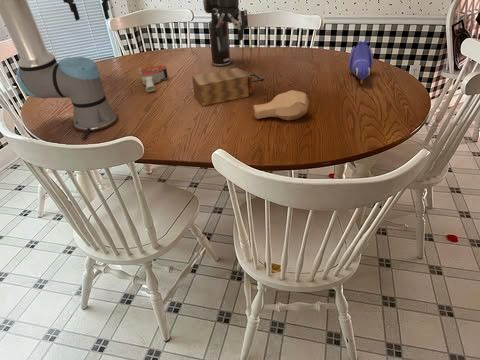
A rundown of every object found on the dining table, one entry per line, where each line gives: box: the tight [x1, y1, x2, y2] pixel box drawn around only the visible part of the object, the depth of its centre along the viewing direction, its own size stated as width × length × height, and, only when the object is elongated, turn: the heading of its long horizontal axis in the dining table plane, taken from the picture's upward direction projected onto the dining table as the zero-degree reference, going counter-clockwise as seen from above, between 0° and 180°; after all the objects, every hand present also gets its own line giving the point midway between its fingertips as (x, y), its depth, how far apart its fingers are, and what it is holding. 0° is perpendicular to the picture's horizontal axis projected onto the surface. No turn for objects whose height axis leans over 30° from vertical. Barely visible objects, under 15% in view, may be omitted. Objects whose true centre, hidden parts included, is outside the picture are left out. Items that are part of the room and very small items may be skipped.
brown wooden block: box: [191, 67, 250, 107], centre depth 145 cm, size 20×11×8 cm, turn 112°
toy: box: [347, 40, 374, 85], centre depth 151 cm, size 10×17×25 cm
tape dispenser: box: [137, 64, 169, 93], centre depth 162 cm, size 18×5×20 cm
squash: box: [252, 89, 310, 121], centre depth 127 cm, size 11×20×9 cm, turn 92°
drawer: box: [240, 69, 265, 94], centre depth 146 cm, size 24×10×6 cm, turn 112°
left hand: (92, 19), depth 156 cm, fingers open, 13 cm apart
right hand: (230, 39), depth 134 cm, fingers open, 8 cm apart
